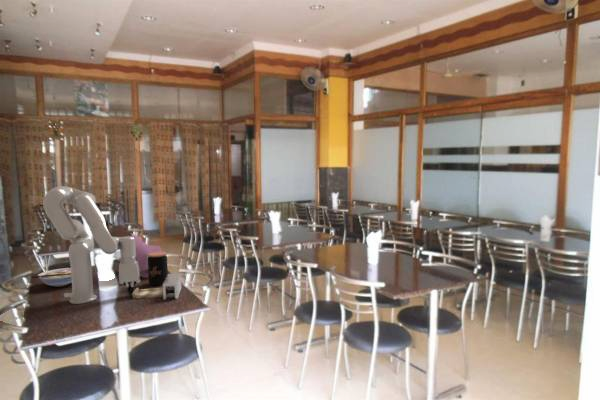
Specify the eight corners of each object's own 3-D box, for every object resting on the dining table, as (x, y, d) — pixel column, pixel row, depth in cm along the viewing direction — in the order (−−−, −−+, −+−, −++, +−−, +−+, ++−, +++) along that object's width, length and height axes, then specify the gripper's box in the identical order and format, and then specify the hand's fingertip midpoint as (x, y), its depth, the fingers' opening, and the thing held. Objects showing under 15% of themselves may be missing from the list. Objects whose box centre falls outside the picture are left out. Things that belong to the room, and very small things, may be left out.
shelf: (163, 299, 216) (162, 284, 216) (168, 288, 236) (168, 273, 235) (177, 298, 218) (176, 283, 217) (181, 287, 237) (181, 273, 236)
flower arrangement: (123, 277, 277) (110, 237, 273) (158, 265, 289) (147, 226, 286) (133, 285, 247) (119, 239, 244) (172, 271, 259) (160, 227, 256)
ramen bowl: (88, 277, 260) (87, 264, 259) (81, 288, 238) (80, 274, 237) (42, 282, 252) (41, 268, 251) (31, 293, 230) (30, 278, 230)
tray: (132, 298, 219) (132, 293, 218) (136, 292, 228) (136, 287, 228) (162, 296, 221) (162, 291, 221) (165, 291, 231) (165, 286, 231)
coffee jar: (144, 285, 242) (143, 254, 240) (157, 280, 252) (156, 251, 250) (159, 287, 238) (158, 256, 236) (172, 282, 248) (170, 252, 246)
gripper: (111, 262, 216) (114, 297, 218) (142, 260, 219) (144, 294, 221) (115, 259, 224) (117, 292, 226) (144, 257, 226) (147, 290, 228)
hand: (131, 293), depth 223 cm, fingers closed
